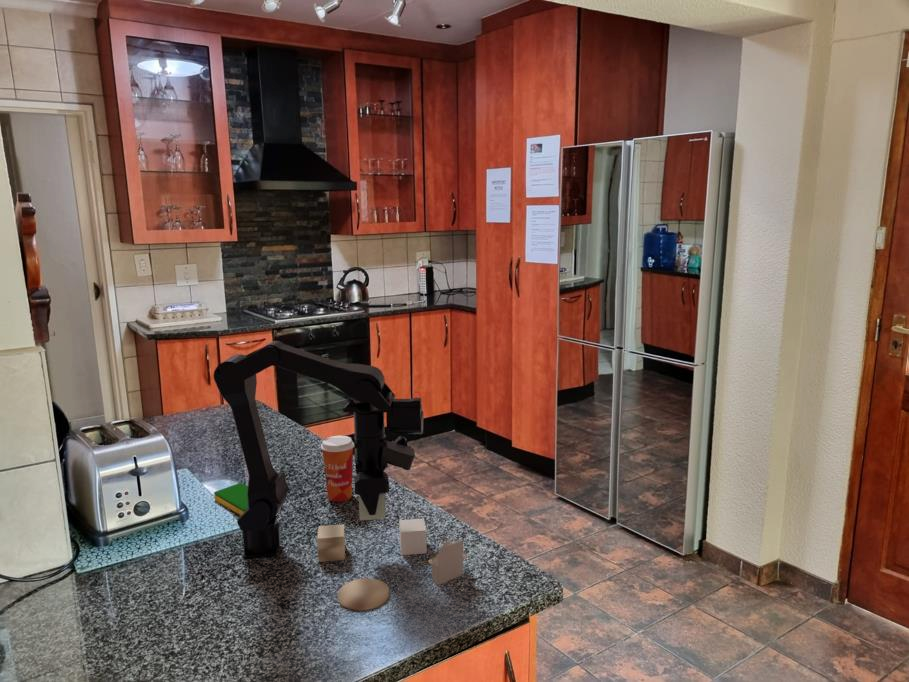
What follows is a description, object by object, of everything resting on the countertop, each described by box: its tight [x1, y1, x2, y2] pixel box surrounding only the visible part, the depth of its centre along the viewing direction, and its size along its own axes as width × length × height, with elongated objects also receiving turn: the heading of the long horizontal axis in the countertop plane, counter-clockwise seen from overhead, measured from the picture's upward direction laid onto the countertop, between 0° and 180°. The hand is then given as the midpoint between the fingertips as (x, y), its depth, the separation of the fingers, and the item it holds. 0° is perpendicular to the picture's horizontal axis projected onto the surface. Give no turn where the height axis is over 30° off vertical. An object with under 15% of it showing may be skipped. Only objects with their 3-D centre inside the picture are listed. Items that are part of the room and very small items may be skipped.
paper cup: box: [320, 435, 355, 503], centre depth 153 cm, size 8×8×14 cm
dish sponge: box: [213, 482, 248, 516], centre depth 151 cm, size 7×14×2 cm, turn 48°
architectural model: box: [427, 539, 468, 586], centre depth 121 cm, size 3×7×7 cm, turn 127°
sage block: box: [358, 493, 387, 521], centre depth 128 cm, size 5×5×5 cm
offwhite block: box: [398, 517, 428, 556], centre depth 131 cm, size 5×5×5 cm
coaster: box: [337, 577, 390, 612], centre depth 115 cm, size 9×9×1 cm
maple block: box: [316, 523, 346, 563], centre depth 129 cm, size 5×5×5 cm
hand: (372, 508), depth 128 cm, fingers closed on sage block, 5 cm apart
